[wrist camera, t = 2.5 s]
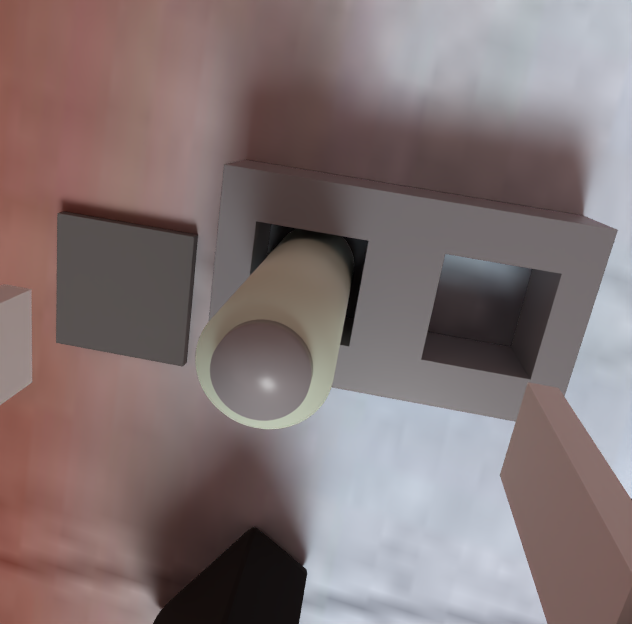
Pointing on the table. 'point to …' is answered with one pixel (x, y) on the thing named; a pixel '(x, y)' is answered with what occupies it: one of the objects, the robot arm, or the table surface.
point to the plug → (279, 334)
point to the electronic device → (242, 587)
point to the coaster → (124, 287)
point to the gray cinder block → (424, 280)
